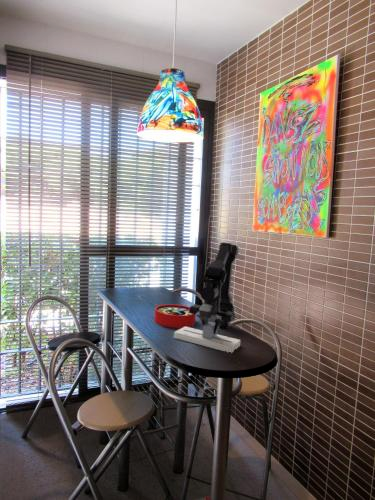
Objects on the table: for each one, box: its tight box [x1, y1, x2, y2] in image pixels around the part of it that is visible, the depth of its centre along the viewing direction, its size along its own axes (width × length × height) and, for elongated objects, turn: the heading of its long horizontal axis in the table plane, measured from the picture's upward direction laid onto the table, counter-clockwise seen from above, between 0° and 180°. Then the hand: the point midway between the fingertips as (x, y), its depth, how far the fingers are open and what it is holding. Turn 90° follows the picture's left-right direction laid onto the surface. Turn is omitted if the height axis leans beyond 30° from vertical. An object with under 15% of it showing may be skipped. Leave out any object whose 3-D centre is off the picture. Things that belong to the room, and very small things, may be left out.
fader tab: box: [202, 321, 218, 339], centre depth 150 cm, size 6×4×5 cm, turn 152°
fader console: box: [173, 326, 241, 354], centre depth 151 cm, size 10×26×3 cm, turn 62°
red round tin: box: [153, 304, 197, 329], centre depth 176 cm, size 20×6×20 cm
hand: (210, 333), depth 150 cm, fingers closed on fader tab, 4 cm apart
